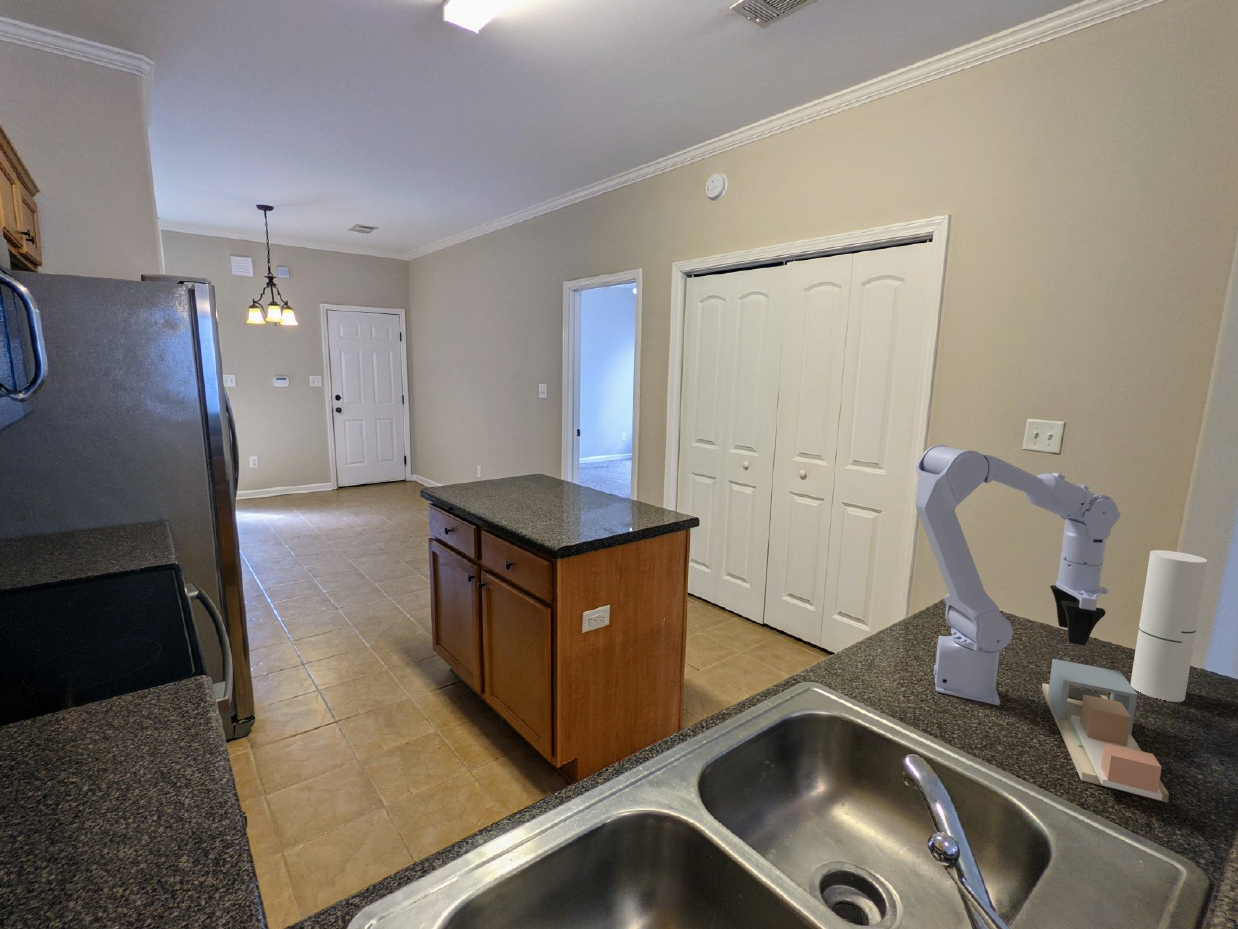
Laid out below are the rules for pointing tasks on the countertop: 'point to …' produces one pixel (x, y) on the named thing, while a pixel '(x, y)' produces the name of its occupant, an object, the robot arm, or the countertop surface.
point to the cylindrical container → (1168, 624)
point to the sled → (1115, 748)
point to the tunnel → (1088, 685)
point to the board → (1074, 742)
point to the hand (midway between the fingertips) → (1071, 635)
